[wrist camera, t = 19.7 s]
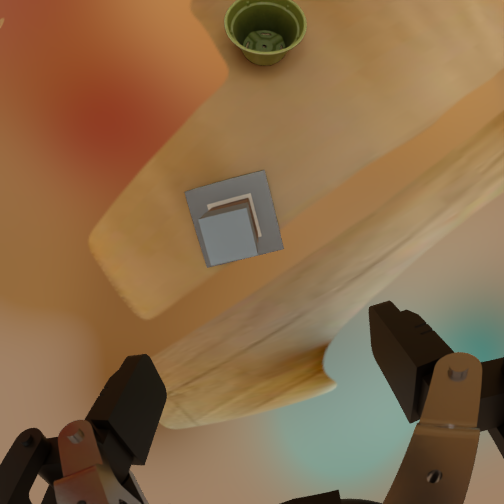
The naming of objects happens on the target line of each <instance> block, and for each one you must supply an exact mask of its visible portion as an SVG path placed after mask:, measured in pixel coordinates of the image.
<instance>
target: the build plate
mask: <svg viewBox="0 0 504 504" xmlns="http://www.w3.org/2000/svg"><path fill="white" fill-rule="evenodd" d="M185 196H186V199H187V203H188V206H189V210H190V213H191V216H192V220H193V223H194V227H195V230H196V233H197V237H198V240H199V243H200V246H201V250H202V253H203V256H204V259H205V263H206V266H207V268H208V267H212V266H217V265H221V264H225V263H221V264H217V265H212V266H211V264H210V260H209V257H208V253H207V250H206V246H205V242H204V239H203V235H202V232H201V228H200V224H199V220H198V219H199V218H200V217H202V216H203V215H204V214H205V213H206V212H208V211H209V210H210V209H211V208H212V207H215V206H219V205H222V204H226V203H230V202H233V201H237V200H241V199H245V198H249V201H250V205H251V209H252V212H253V216H254V220H255V224H256V227H257V231H258V255H261V254H266V253H269V252H274V251H278V250H282V249H284V247H283V243H282V239H281V235H280V230H279V226H278V222H277V218H276V214H275V210H274V206H273V202H272V198H271V194H270V190H269V186H268V182H267V178H266V174H265V170H262V171H258V172H254V173H250V174H247V175H243V176H239V177H235V178H231V179H228V180H224V181H220V182H217V183H213V184H210V185H206V186H203V187H199V188H196V189H192V190H189V191H186V192H185ZM248 258H249V257H248ZM244 259H245V258H244ZM239 260H241V259H239ZM235 261H237V260H235ZM230 262H233V261H230ZM226 263H229V262H226Z"/></svg>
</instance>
